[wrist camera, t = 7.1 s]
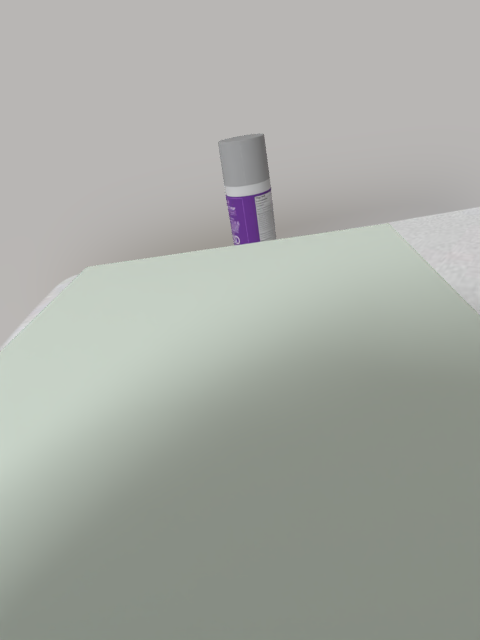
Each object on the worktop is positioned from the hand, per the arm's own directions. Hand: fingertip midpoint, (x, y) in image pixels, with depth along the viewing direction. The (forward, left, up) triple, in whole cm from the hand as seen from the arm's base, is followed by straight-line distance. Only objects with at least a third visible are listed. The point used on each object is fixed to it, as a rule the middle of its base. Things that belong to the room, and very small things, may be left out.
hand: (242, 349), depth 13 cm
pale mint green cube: (+4, +2, -7) cm, 8 cm away
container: (-24, -12, -10) cm, 29 cm away
